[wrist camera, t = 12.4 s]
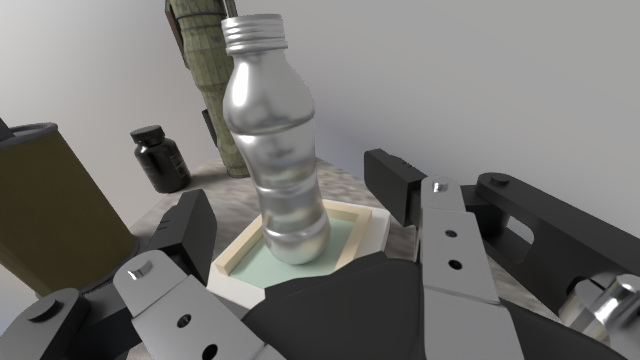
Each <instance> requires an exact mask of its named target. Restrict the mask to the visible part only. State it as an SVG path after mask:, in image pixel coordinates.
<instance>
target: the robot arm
mask: <svg viewBox="0 0 640 360" xmlns="http://www.w3.org/2000/svg"><path fill="white" fill-rule="evenodd" d="M364 180H365V184H366V186H367V188H368V189H369V191H370V192H371V193H372V194H373V195H374V196H375V197H376V198H377V199H378V200H379V201H380V202H381V204H382V205H383V206H384V207H385V208H386V209H387V210H388V211H389V212H390V213H391V214H392V216H393V217H394V218H395V219H396V220H397V221H398V222H399V223H400V224H401V225H402V226H403V227H407V226H410V225H413V224H414V225H415V236H414V259H413V261H410V260H405V259H392V258H391V259H388V258H387V256H386V255H385V254H384V252H383V251H382V250H381V251H378V252H375V253H372V254H369V255H365V256H362V257H359V258H356V259H354V260H352V261H351V262H349V263H348V264H346V265H344V266H343V267H341V268H339V269H338V270H336V271H334V272H333V273H331V274H329V275H323V276H312V277H301V278H294V279H291V280H288V281H285V282H281V283H278V284H275V285H272V286H269V287H266V288H264V292H265V299H264V300H262V301H261V302H259V303H258V304H257V305H255V306H254V307H253V308H251V309H250V310H249V311H248V312H247V313H246V314H245V315H244V316H243V317H242V318H241V319H240V320H239V319H238V318H237V317H236V316H235V315H234V314H233V313H232V312H231V311H230V310H229V309H228V308H227V307H226V306H225V305H223V304H222V303H221V302H220V301H219V300H218V299H217V298H216V297H215V296H214V295H213V294H212V293H211V292H210V291H209V290H208V289H207V288H206V287H207V285H208V279H209V273H210V267H211V261H212V255H213V249H214V243H215V237H216V231H217V222H216V218H215V215H214V213H213V210H212V208H211V206H210V203H209V201H208V199H207V197H206V194H205V192H204V191H203V190H202V189H197V190H193V191H188V192H184V193H183V194H182V196H181V198H180V200H179V202H178V204H177V205H175V206H172V207H171V208H170V209H169V210H168V211H167V212H166V213H165V214H164V216H163V218H162V219H161V221H160V224H159V225H158V227H157V229H156V230H157V231H155V233H154V235H153V237H152V239H151V241H150V243H149V245H148V247H147V249H146V251H145V252H144V253H142V254H139V255H137V256H136V257H134V258H132V259H131V260H129V261H128V262H126V263H125V264H124V265H123V266H122V267H121V268H120V269H119V270H118V271H117V273H116V274H115V276H114V279H113V282H112V283H110V284H108V285H106V286H104V287H102V288H100V289H98V290H96V291H94V292H92V293H90V294H87V295H85V296H83V295H82V294H81V293H80V292H79V291H78V290H77V289H75V288H66V289H62V290H59V291H56V292H54V293H51V294H49V295H47V296H45V297H43V298H42V299H40V300H39V301H37V302H35V303H34V304H32V305H31V306H30V307H28V308H27V309H26V310H24V312H22V313H21V314H20V315H19V316H18V317H17V318H16V319H15V320H14V321H13V322H12V323H11V325H10V326H9V327H8V328H7V330H6V331H5V332H4V333H3V335H2V336H1V337H0V360H126V358H127V356H128V353H129V350H130V349H131V348H133V347H134V346H136V345H138V344H139V343H141V342H143V343H144V345H145V346H146V348H147V350H148V351H149V353H150V355H151V357H152V358H153V360H640V239H639V238H637V237H635V236H633V235H631V234H629V233H627V232H625V231H623V230H621V229H619V228H617V227H615V226H613V225H610V224H608V223H606V222H604V221H602V220H600V219H598V218H596V217H594V216H592V215H590V214H588V213H586V212H584V211H582V210H580V209H578V208H575V207H573V206H572V205H569V204H568V203H566V202H563V201H561V200H559V199H557V198H555V197H553V196H551V195H549V194H547V193H545V192H543V191H541V190H539V189H537V188H535V187H533V186H531V185H529V184H527V183H525V182H523V181H521V180H518V179H516V178H514V177H512V176H509V175H506V174H501V173H484V174H481V175H480V176H479V177H478V180H477V184H476V185H464V186H460V185H459V184H458V183H457V182H456V181H455V180H453V179H451V178H448V177H443V176H430V177H428V176H427V175H425V174H424V173H422V172H420V171H419V170H418V169H416V168H415V167H412V165H410V164H409V163H407V162H405V161H404V160H402V159H401V158H398V157H396V156H392V155H389V154H388V153H386V152H385V151H383V150H382V149H374V150H370V151H366V152H365V153H364ZM510 216H512V217H514V218H515V219H517V220H519V221H520V222H522V223H523V224H525V225H526V226H528V227H529V228H530V229H531V230H532V232H533V234H534V242H533V244H532V245H531V244H530V243H528V242H527V241H525V240H524V239H523V238H521V237H520V236H518V235H517V234H516V233H514V232H513V231H511V230H510V229H508V228H507V227H506V226H507V223H508V221H509V218H510ZM486 253H487V254H488V255H489V256H490V257H491V258H492V259H493V260H494V261H496V262H497V263H498V264H499V265H500V266H501V267H502V268H503V269H505V270H506V271H507V272H508V273H509V274H510V275H511V276H512V277H514V278H515V279H516V280H517V281H518V282H519V283H520V284H522V285H523V286H524V287H525V288H526V289H527V290H528V291H529V292H531V293H532V294H533V295H534V296H535V297H536V298H537V299H538V300H540V301H541V302H542V303H543V304H544V305H545V306H546V307H547V308H549V309H550V310H551V311H552V312H553V313H554V314H555V315H556V316H558V317H559V318H560V320H561V322H562V324H563V325H562V324H560V323H558V322H555V321H553V320H551V319H548V318H546V317H544V316H541V315H539V314H537V313H534V312H532V311H530V310H528V309H525V308H523V307H521V306H518V305H516V304H514V303H511V302H509V301H507V300H504V299H502V298H500V297H498V295H497V291H496V288H495V284H494V281H493V277H492V274H491V270H490V267H489V263H488V260H487V256H486Z"/></svg>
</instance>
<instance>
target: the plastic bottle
mask: <svg viewBox="0 0 640 360" xmlns="http://www.w3.org/2000/svg"><path fill="white" fill-rule="evenodd" d="M221 23H222V30H223V34H224V38H225V41H226V45H227V48H226V52H227V56H232V57H233V59H234V70H233V72H232V75H231V77H230V80H229V83H228V85H227V88H226V92H225V96H224V99H223V117H224V119H225V121H226V124H227V126H228V128H229V130H231V131H230V133H231V135H232V137H233V139H234V141H235V143H236V145H237V147H238V149H239V151H240V153H241V155H242V157H243V159H244V161H245V163H246V165H247V168H248V171H249V173H250V176H251V178H252V180H253V184H254V187H255V189H256V192H257V196H258V201H259V206H260V210H261V215H262V228H263V235H264V241H265V244H266V246H267V247H268V249H269V251H270V252H271V254H272V255H273V256H274V257H275V258H276V259H278V260H279V261H282V262H285V263H288V264H293V265H299V264H305V263H308V262H310V261H312V260H314V259H316V258H317V257H319V256H320V255H321V254H322V252H323V251H324V250H325V249H326V247H327V246H328V244H329V241H330V231H331V225H330V221H329V217H328V214H327V211H326V209H325V207H324V205H323V201H322V197H321V193H320V189H319V185H318V181H317V171H316V160H315V143H314V142H315V117H314V114H315V108H314V100H313V98H312V95H311V93H310V90H309V88H308V87H307V85H306V84H305V83H304V81H303V80H302V78H301V77H300V76H299V74H298V73H297V72H296V71H295V70H294V69H293V68H292V66H291V65H290V64H289V63H288V62H287V61H286V58H285V55H284V49H286V48H288V45H287V41H285V34H284V28H283V20H282V19H281V15H279V14H256V15H246V16H239V17H233V18H229V19H225V20H222V21H221Z"/></svg>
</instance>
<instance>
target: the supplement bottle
mask: <svg viewBox="0 0 640 360" xmlns="http://www.w3.org/2000/svg"><path fill="white" fill-rule="evenodd" d="M130 134H131V136H132V138H133V140H134V142H135V144H138V146H137V148H136V149H135V152H134V154H135V156H136V158H137V160H138V161H139V163H140V165H141V166H142V168H143V170H144V171H145V173H146V175H147V176H148V178H149V180H150V181H151V183H152V185H153V186H154V188H155V190H156V191H157V192H159V193H171V192H175V191H178V190H180V189H182V188H184V187H186V186H187V185H188V184H189V183H190V182H191V180H192V177H191V174H190V172H189V170H188V168H187V166H186V164H185V162H184V160H183V158H182V155H181V154H180V151H179V149H178V147H177V145H176V143H175V142H174V141H173V140H171V139H168V138H165V137H164V136H165V133H164V132H163V130H162V128H161V126H159V125H154V126H148V127H144V128H141V129H137V130H135V131H133V132H131V133H130Z"/></svg>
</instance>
